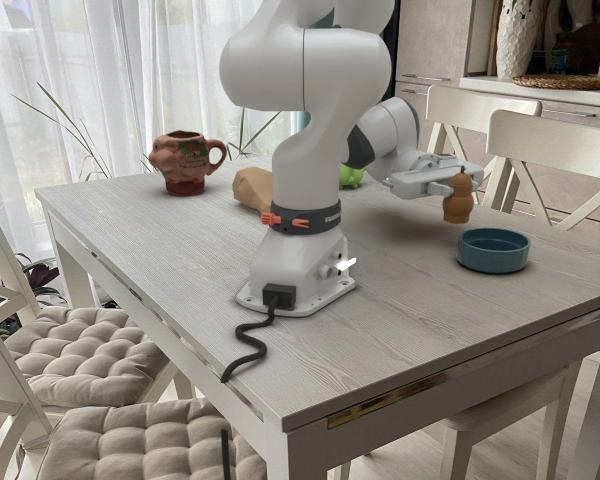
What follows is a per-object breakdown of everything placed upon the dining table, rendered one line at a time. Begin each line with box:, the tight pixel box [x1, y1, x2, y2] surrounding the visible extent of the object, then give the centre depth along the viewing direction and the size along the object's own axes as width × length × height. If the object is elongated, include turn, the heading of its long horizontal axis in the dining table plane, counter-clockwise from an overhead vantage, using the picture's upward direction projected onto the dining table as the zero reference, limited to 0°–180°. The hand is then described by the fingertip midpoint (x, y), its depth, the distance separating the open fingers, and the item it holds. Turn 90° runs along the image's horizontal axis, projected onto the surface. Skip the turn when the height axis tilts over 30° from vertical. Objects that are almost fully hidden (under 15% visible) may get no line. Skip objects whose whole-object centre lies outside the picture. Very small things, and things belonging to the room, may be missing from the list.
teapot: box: [339, 163, 366, 190], centre depth 159 cm, size 11×12×8 cm
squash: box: [231, 166, 273, 216], centre depth 142 cm, size 11×20×9 cm, turn 25°
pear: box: [442, 165, 475, 225], centre depth 118 cm, size 6×6×10 cm
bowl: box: [455, 226, 532, 274], centre depth 115 cm, size 13×13×4 cm
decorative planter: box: [147, 129, 228, 197], centre depth 155 cm, size 20×12×14 cm, turn 115°
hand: (463, 190), depth 117 cm, fingers closed on pear, 4 cm apart
